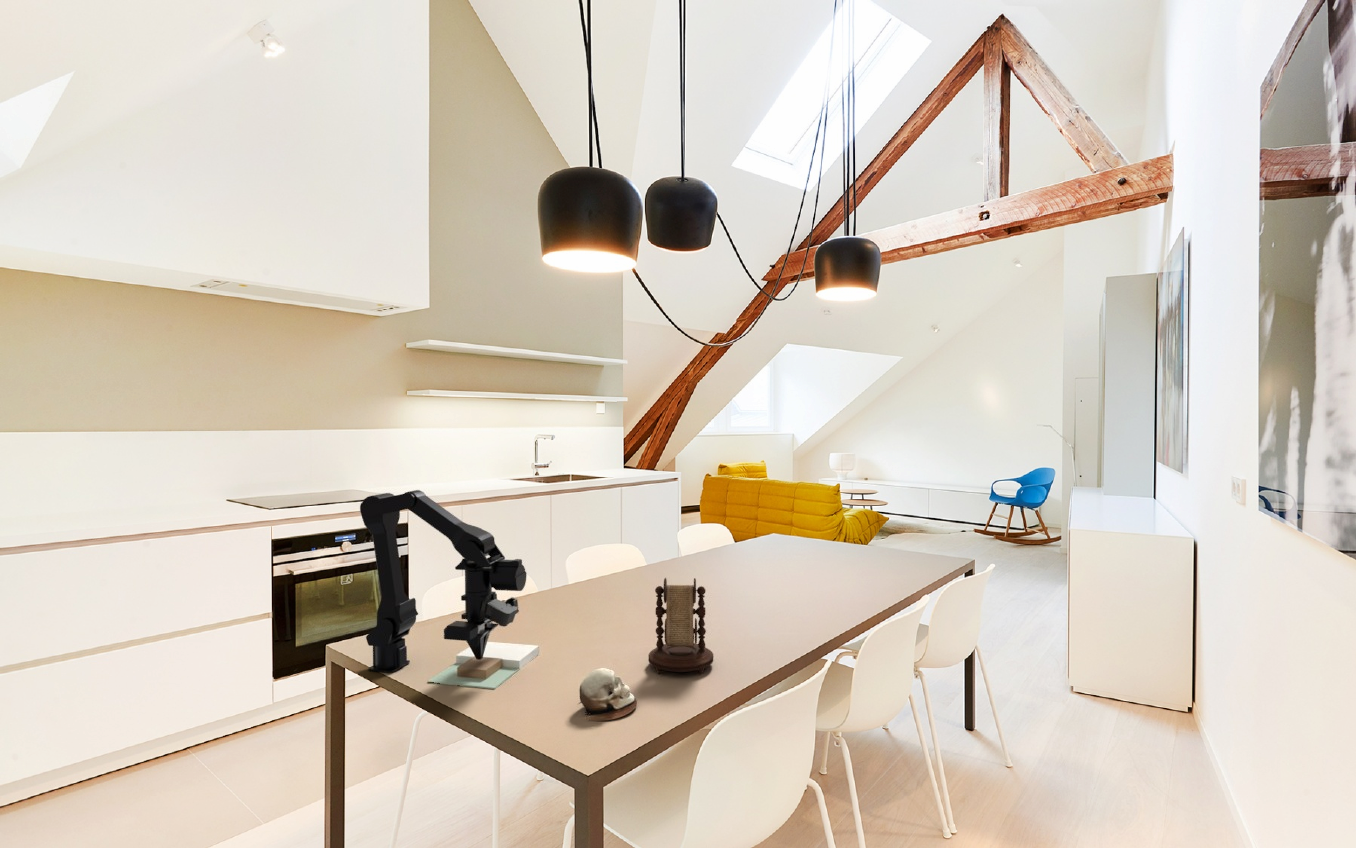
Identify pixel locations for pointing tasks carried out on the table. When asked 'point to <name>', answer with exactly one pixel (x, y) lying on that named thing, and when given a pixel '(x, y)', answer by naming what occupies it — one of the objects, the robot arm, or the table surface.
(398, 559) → the robot arm
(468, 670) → the tile
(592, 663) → the table surface
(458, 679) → the mat
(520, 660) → the plate
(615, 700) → the skull
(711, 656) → the scroll
